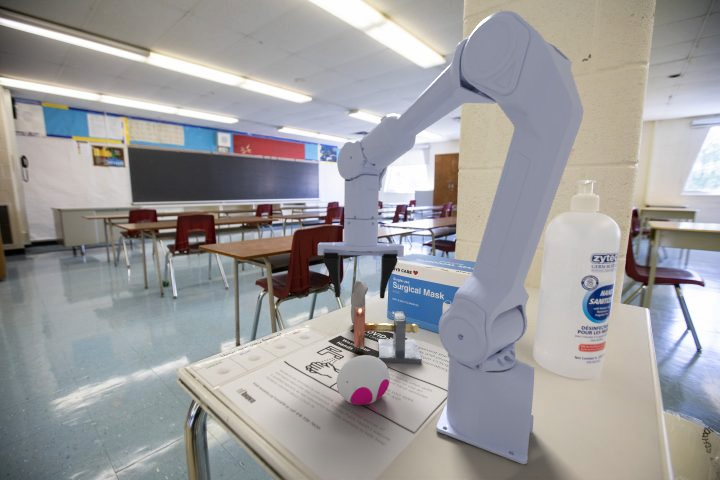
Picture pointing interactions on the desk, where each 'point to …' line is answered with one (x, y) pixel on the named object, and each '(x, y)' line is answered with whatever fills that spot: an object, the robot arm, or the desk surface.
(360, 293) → the fossil
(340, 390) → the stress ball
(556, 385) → the desk surface
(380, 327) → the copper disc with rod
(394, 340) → the eye post
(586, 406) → the desk surface
